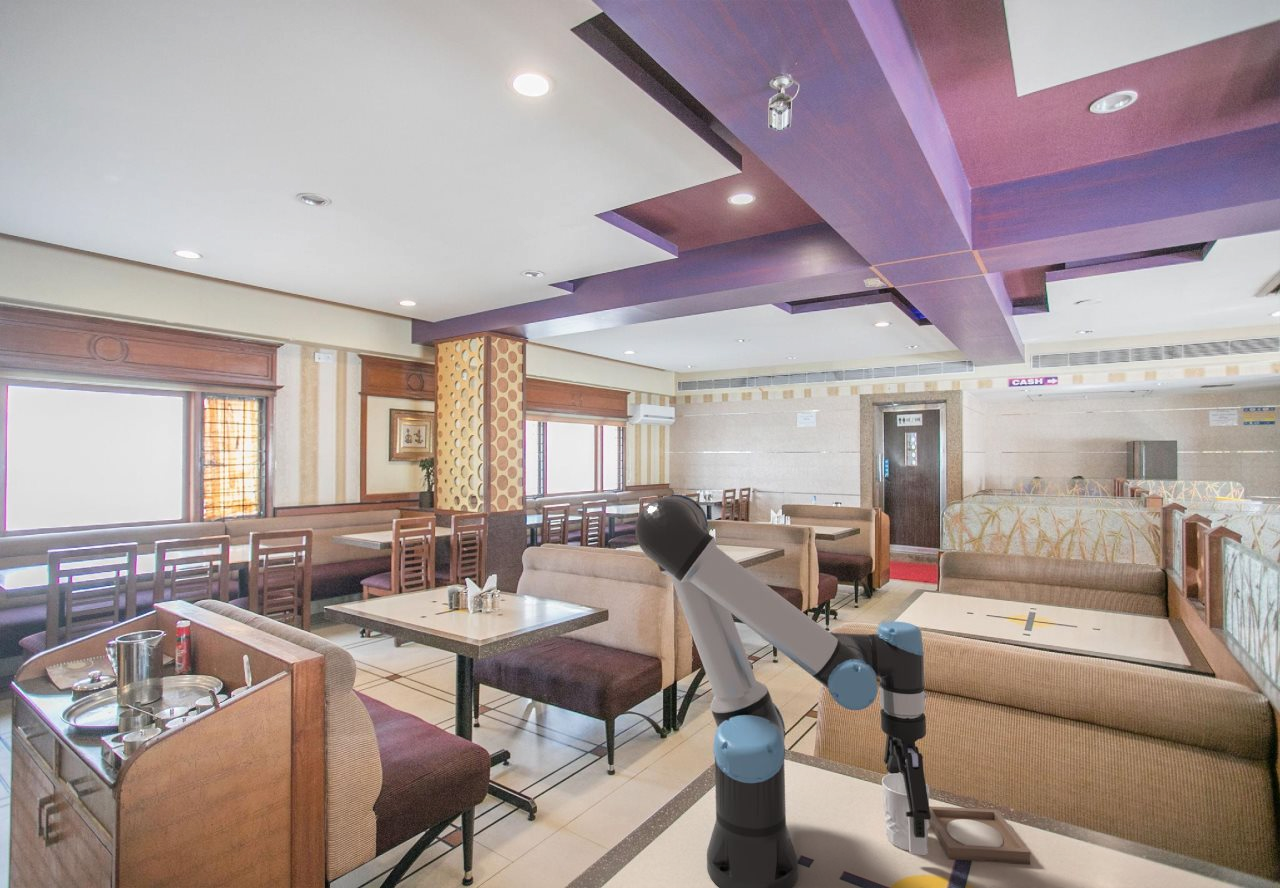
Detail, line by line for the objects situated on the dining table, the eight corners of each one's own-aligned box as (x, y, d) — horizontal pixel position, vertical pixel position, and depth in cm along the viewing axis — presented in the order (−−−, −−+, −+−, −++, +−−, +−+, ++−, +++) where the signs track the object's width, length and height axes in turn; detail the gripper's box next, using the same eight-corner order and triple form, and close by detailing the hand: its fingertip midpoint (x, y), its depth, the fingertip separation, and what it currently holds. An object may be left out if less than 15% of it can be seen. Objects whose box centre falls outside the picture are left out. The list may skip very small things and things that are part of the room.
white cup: (936, 855, 109) (934, 797, 109) (887, 851, 111) (886, 793, 111) (925, 829, 117) (923, 774, 117) (880, 825, 118) (878, 771, 119)
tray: (949, 859, 108) (948, 847, 108) (925, 816, 121) (924, 806, 121) (1030, 864, 106) (1030, 852, 106) (997, 820, 119) (997, 809, 119)
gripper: (948, 741, 101) (953, 876, 101) (904, 686, 126) (908, 794, 125) (900, 740, 102) (904, 873, 102) (865, 685, 127) (869, 792, 126)
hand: (906, 830), depth 114 cm, fingers open, 13 cm apart
